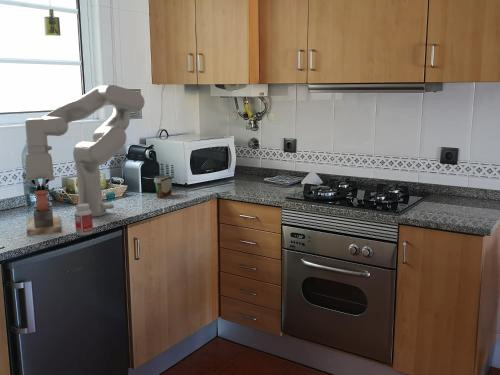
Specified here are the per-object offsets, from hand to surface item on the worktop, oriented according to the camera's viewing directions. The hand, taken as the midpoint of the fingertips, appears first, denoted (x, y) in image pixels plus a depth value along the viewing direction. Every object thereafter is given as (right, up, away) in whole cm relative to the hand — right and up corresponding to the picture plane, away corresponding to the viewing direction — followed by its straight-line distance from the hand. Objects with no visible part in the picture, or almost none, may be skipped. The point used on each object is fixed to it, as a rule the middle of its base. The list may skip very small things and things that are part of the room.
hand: (41, 195), depth 213 cm
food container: (+39, -2, +54) cm, 67 cm away
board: (+2, -12, -3) cm, 13 cm away
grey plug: (0, -9, +2) cm, 9 cm away
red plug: (+4, -7, -9) cm, 12 cm away
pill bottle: (+21, -14, -14) cm, 29 cm away
